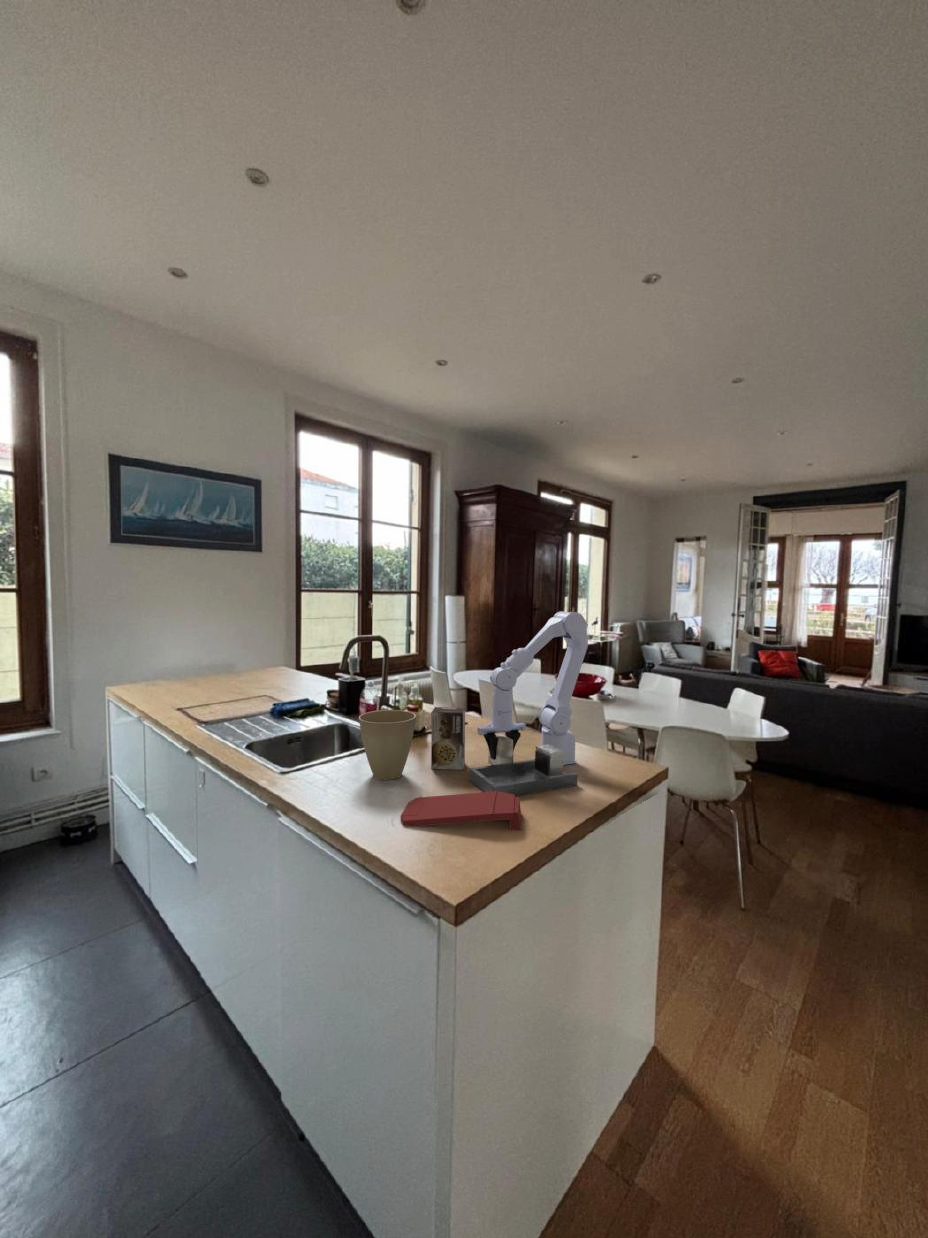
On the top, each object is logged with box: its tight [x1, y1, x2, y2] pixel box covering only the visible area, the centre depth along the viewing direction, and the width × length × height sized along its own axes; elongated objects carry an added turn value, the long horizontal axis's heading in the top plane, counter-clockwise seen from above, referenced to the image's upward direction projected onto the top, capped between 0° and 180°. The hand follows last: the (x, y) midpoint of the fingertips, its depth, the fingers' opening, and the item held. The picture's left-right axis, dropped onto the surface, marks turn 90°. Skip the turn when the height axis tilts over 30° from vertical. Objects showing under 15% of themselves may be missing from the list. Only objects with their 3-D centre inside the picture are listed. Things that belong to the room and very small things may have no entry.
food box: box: [430, 706, 466, 771], centre depth 141 cm, size 9×6×16 cm
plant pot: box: [358, 709, 417, 781], centre depth 133 cm, size 15×15×16 cm
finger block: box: [487, 733, 515, 765], centre depth 143 cm, size 5×7×8 cm, turn 24°
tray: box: [468, 744, 579, 797], centre depth 130 cm, size 24×14×8 cm, turn 114°
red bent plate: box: [399, 791, 522, 831], centre depth 109 cm, size 12×5×25 cm
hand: (501, 757), depth 143 cm, fingers closed on finger block, 5 cm apart
